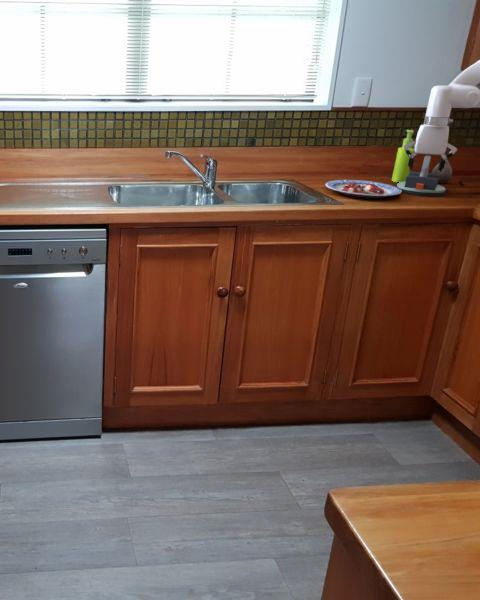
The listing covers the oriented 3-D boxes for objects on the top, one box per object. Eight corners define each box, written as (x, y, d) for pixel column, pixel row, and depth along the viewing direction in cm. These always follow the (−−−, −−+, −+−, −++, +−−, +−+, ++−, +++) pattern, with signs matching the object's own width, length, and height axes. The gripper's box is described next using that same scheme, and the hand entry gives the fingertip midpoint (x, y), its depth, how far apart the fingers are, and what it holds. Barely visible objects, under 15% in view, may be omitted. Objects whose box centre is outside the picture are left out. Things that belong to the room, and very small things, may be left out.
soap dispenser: (406, 180, 247) (417, 129, 239) (408, 183, 241) (420, 131, 233) (390, 179, 249) (400, 128, 241) (392, 182, 243) (403, 131, 235)
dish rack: (399, 181, 237) (406, 151, 233) (446, 187, 230) (454, 155, 225) (394, 189, 225) (401, 157, 220) (443, 194, 217) (451, 162, 213)
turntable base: (441, 189, 232) (442, 186, 232) (449, 198, 218) (449, 195, 217) (392, 185, 238) (393, 182, 237) (396, 194, 223) (397, 191, 223)
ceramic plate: (324, 183, 239) (325, 175, 238) (396, 188, 231) (397, 181, 230) (325, 197, 217) (326, 189, 216) (404, 204, 209) (406, 195, 208)
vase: (430, 183, 242) (436, 161, 238) (428, 180, 248) (434, 158, 244) (450, 185, 239) (456, 162, 236) (448, 181, 245) (453, 159, 242)
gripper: (461, 122, 218) (449, 169, 225) (408, 119, 224) (398, 166, 231) (465, 124, 212) (453, 173, 218) (410, 121, 218) (399, 169, 224)
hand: (424, 169), depth 225 cm, fingers open, 9 cm apart
